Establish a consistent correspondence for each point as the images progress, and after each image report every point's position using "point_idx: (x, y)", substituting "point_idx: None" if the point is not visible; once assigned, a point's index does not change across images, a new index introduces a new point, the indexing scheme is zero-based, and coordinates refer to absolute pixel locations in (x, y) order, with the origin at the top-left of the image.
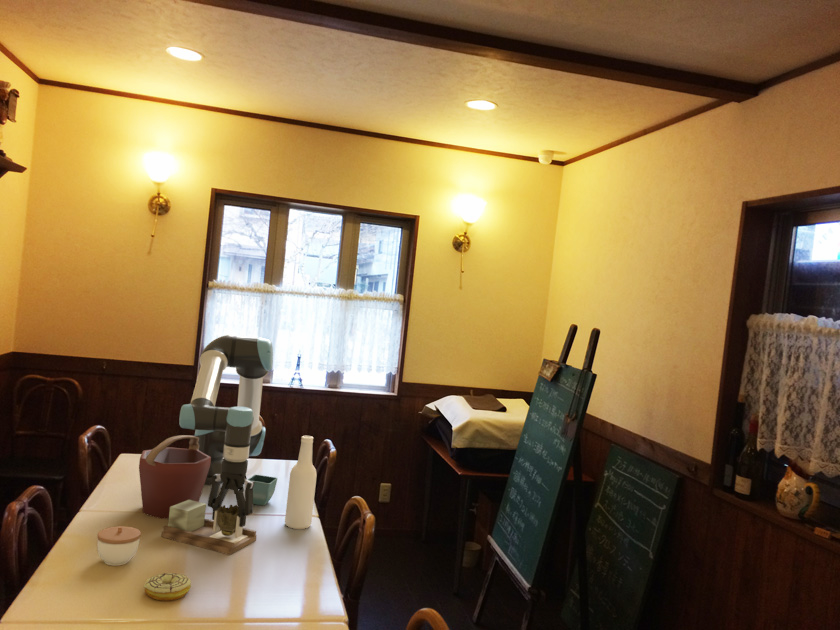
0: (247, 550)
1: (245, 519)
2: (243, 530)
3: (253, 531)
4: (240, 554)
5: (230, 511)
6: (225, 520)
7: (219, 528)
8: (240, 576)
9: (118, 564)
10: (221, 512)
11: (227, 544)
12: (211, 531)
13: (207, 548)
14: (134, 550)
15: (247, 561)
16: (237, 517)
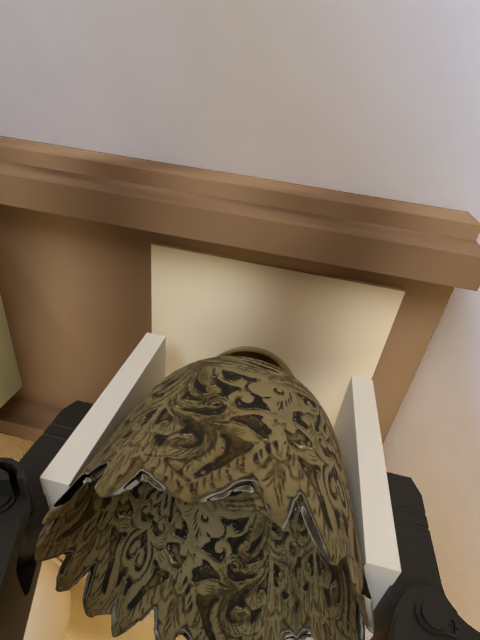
0: (440, 405)
1: (429, 553)
2: (343, 263)
3: (463, 280)
4: (411, 459)
5: (155, 427)
6: (238, 569)
7: (160, 355)
8: (474, 617)
9: None
10: (167, 638)
11: None
12: (100, 294)
13: None
14: (62, 629)
15: (475, 518)
16: None
